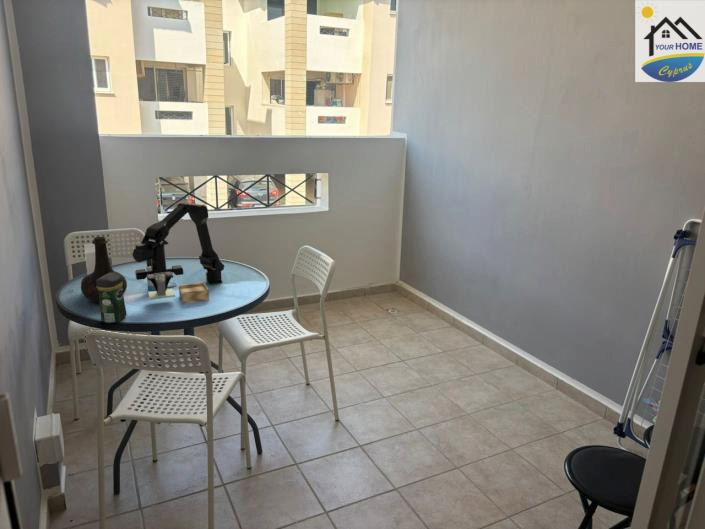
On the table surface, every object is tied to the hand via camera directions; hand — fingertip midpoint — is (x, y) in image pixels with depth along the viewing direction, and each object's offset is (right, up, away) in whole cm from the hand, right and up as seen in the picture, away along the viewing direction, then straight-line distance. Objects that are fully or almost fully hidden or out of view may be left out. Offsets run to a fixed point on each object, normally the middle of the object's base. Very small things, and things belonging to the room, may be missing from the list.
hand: (161, 291), depth 221 cm
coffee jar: (-13, -10, -16) cm, 23 cm away
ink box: (-8, 0, +18) cm, 20 cm away
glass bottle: (-25, -4, +3) cm, 26 cm away
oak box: (+12, -3, +7) cm, 14 cm away
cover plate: (0, -2, +1) cm, 2 cm away
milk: (-34, 0, +14) cm, 37 cm away
